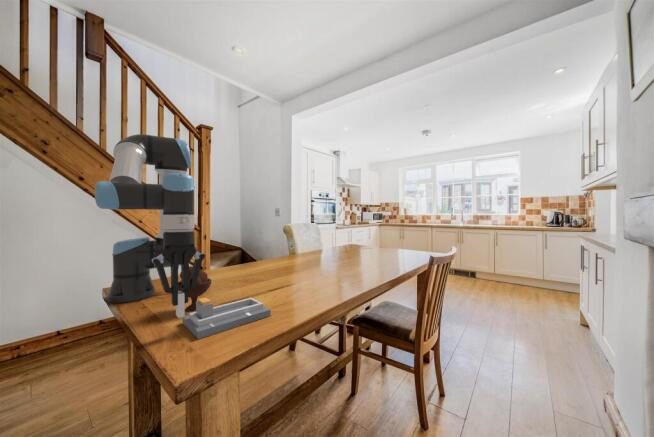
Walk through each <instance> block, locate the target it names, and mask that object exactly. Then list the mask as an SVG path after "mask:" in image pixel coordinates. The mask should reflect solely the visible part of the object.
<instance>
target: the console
mask: <svg viewBox="0 0 654 437" xmlns="http://www.w3.org/2000/svg"><path fill="white" fill-rule="evenodd" d="M188 313H189V314H188V315H185V317H182V324H183V325H184V326H185V327H186V328H187V330H189V331H190V332H191V334H193V336H194V337H196V338H197V339H198V340H200V339H203V338H206V337H209V336H212V335H216V334H219V333H222V332H224V331H228V330H231V329H234V328H237V327H240V326H243V325H247V324H250V323H253V322H255V321H258V320H262V319H265V318H267V317H271V316H272V312H271V309H270V308H268V307H266V306H264V303H263V302H260V301H259V300H257V299H255V298H253V297H248V298H245V299H240V300H237V301H233V302H230V303H224V304H220V305H217V306H213V316H211V317H207V318H204V319H199V318H198V317H197V316H196V311H192V312H188Z"/></svg>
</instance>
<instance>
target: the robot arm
mask: <svg viewBox="0 0 654 437" xmlns="http://www.w3.org/2000/svg"><path fill="white" fill-rule="evenodd" d="M112 153H113V154H112V155H113V157H114V163H113V165H112V168H111V169H112V170H111V173H110V177H109V180H107V181H103V180H102V181H97V182H96V184H95V187H94V199H95V204H96V206H97V207H98V208H99V209H102V210H115V211H117V210H151V211H152V210H159V233H157V234H156V235H155V239H154V240H151V239H150V237H148V236H146V237H145V236H144V237H136V238H130V239H124V240H119V241H116V242H115V243H114V244H113V246H112V253H111V254H112V266H113V267H112V274H113V276H112V279H113V280H112V283H111V285H110V287H109V290H108V293H107V302H109V303H115V304H117V303H118V304H119V303H127V302H128V303H129V302H136V301H140V300H144V299H148V298H150V297H152V296H154V295H155V294H156V287H155V283H154V282H153V280H152V277H151V273H150V272H151V271H150V270H152V269H156V271H157V273H158V277H159V280H160V284H161V288H162V289H163V292H165V293H166V294H171V305H172V306H173V307H175V316H176V318H178V319H182V318H183V317H185V316H186V314H185V311H186V307H185V305H186V304H187V303H189V297H188V292H189V291H190V289H192V288H195V287H196V283H197V279H198V275H199V270H201V266H202V262H203V261H204V259H205V258H206V254H204V253H202V252H199V251H197V250H198V249H197V247H196V243H195V242H196V240H195V237H196V235H195V233H196V232H194V229H195V188H196V187H195V181H194V180H195V179H194V177H193V176H192V175H190V174H187V173H188V170H189V169H191V168H192V157H191V156H192V155H191V150H190V146H189V143H188V142H187V141H186V140H183V139H179V138H175V137H165V136H159V135H158V136H157V135H151V134H142V133H141V134H140V133H139V134H133V135H130V136H127V137H125V138H123V139H120V140H118V142H117V143H116V144H115V146H114V148H113V152H112ZM143 165H149V166H154V171H155V172H157V174H158V177H159V180H158V182H159V184H157V183H142V179H143V178H142V176H143ZM193 257H194V260H193V265H192V266H193V268H192V272H191V276H190V281H189V266H190V262H191V260H192V259H193ZM169 267H170V283H169V281H168V280H169V279H168V277H167V273H166V270H165V268H169ZM179 267H180V268H181V269H180V273H181V278H180V281H181V287H182V291H178V282H179Z"/></svg>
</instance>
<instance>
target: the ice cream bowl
mask: <svg viewBox="0 0 654 437" xmlns="http://www.w3.org/2000/svg"><path fill="white" fill-rule="evenodd" d="M192 268H193V265H192V266H191V265H189V281H190V276H191V272H192ZM179 278H180V279H181V272H180V273H179ZM211 284H212V279H211V278H209V277H208V274H207V273H206V272H205V271H204V270H202V269H200V270H199V275H198V279H197V283H196V287H195V288H192V289H190V291H189V292H188V298H190V299H191V303H190V305H188V306H186V307H185V311H186V312H189V313H193V312H196V302H197V301H198V298H199V297H201V296H202V295H203V294H204V293H206V292H207V291H208V290H209V288H211ZM178 291H182V287H181V280H179V281H178Z"/></svg>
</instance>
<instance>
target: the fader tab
mask: <svg viewBox="0 0 654 437" xmlns="http://www.w3.org/2000/svg"><path fill="white" fill-rule="evenodd" d="M213 307H214V303H213V302H212V300H211V299H209V298H208V297H202V298H199V299H198V298H197V302H196V311H195V312H196V316H197V317H198V318H199V319H204V318H207V317H211V316H213Z"/></svg>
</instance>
